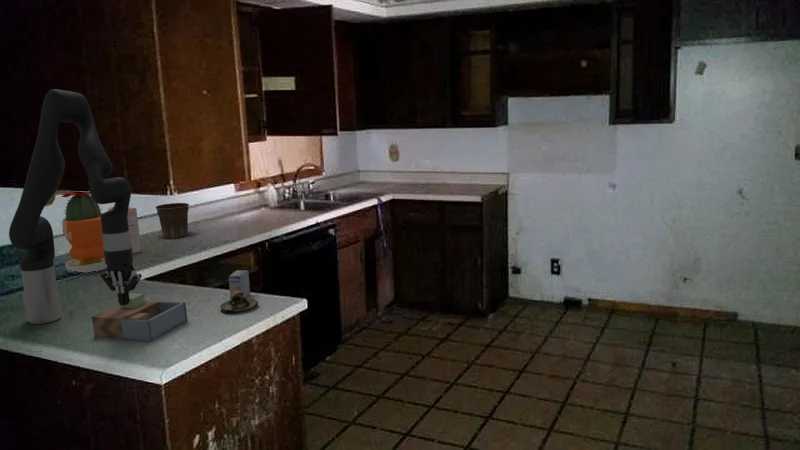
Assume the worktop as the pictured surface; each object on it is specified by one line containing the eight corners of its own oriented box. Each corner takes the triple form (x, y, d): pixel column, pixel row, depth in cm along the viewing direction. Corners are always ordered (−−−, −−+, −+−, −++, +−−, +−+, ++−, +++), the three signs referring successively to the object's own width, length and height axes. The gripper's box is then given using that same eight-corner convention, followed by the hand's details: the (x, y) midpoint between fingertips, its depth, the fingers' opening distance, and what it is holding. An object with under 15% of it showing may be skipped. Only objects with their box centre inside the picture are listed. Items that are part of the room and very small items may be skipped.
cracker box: (112, 251, 305) (107, 207, 301) (124, 249, 310) (119, 205, 306) (130, 254, 298) (124, 209, 293) (142, 252, 302) (136, 207, 298)
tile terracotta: (127, 318, 190) (136, 318, 189) (138, 312, 194) (147, 313, 193) (129, 334, 190) (138, 335, 190) (140, 328, 195) (149, 329, 194)
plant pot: (192, 237, 330) (189, 206, 327) (158, 241, 325) (154, 209, 322) (192, 232, 345) (188, 201, 342) (159, 235, 340) (156, 204, 337)
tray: (123, 340, 188) (120, 320, 187) (162, 319, 205) (160, 300, 204) (149, 342, 185) (147, 321, 184) (187, 320, 202) (185, 302, 201)
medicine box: (238, 294, 229) (235, 270, 227) (250, 293, 228) (248, 269, 227) (230, 301, 221) (228, 276, 219) (243, 300, 221) (240, 276, 219)
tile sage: (120, 307, 199) (118, 298, 198) (131, 302, 203) (130, 293, 203) (133, 308, 197) (132, 298, 197) (144, 303, 202) (143, 294, 201)
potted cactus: (55, 274, 268) (42, 189, 261) (89, 260, 289) (78, 182, 283) (103, 274, 264) (92, 188, 258) (134, 260, 286) (124, 181, 279)
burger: (222, 317, 205) (220, 294, 204) (218, 307, 216) (216, 285, 214) (261, 311, 209) (259, 288, 208) (255, 301, 220) (253, 280, 219)
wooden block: (94, 336, 192) (91, 316, 191) (131, 318, 207) (128, 300, 206) (125, 338, 189) (123, 318, 188) (160, 320, 204) (158, 301, 203)
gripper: (89, 249, 187) (96, 307, 190) (127, 251, 183) (134, 310, 186) (107, 243, 194) (114, 299, 197) (145, 245, 190) (151, 302, 193)
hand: (124, 304), depth 192 cm, fingers closed
